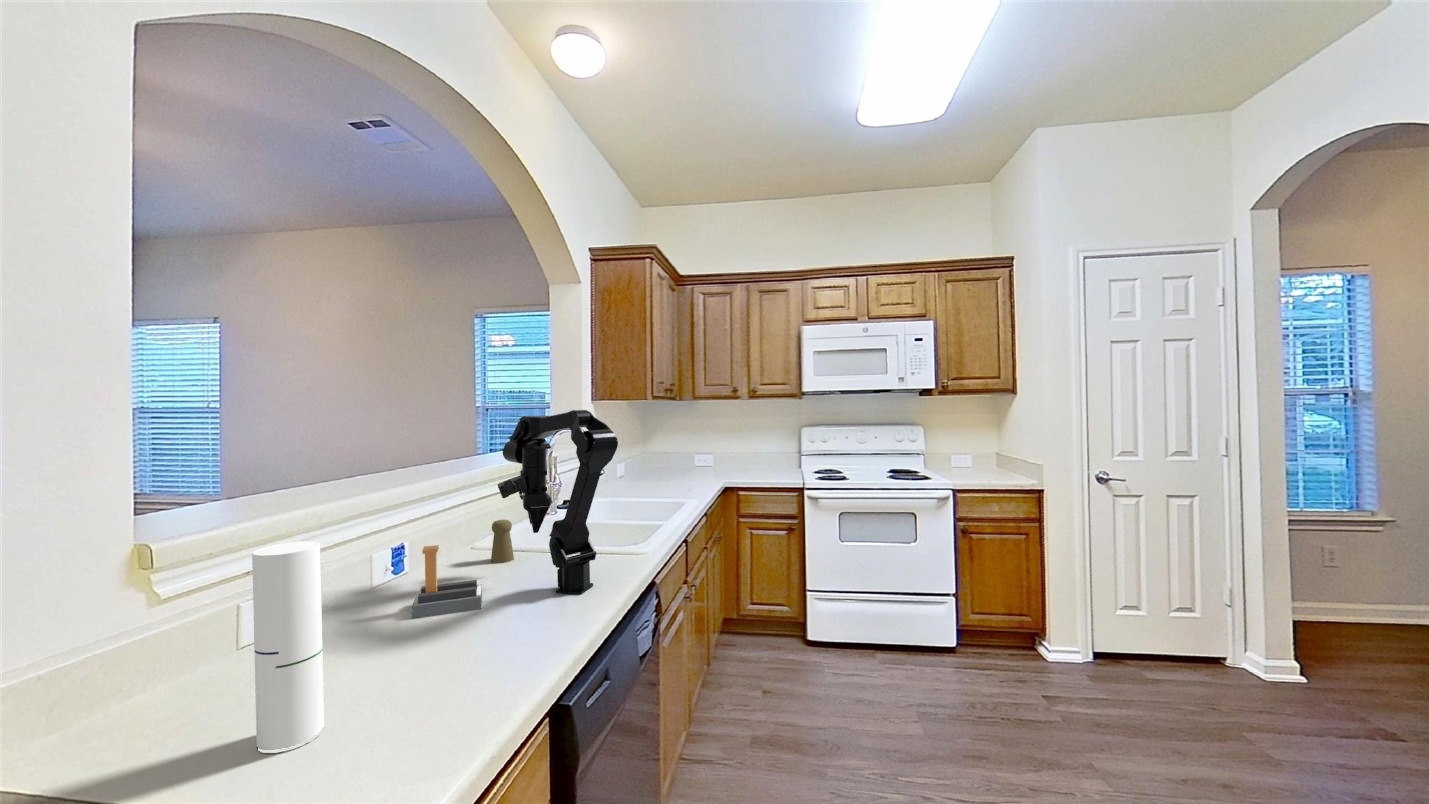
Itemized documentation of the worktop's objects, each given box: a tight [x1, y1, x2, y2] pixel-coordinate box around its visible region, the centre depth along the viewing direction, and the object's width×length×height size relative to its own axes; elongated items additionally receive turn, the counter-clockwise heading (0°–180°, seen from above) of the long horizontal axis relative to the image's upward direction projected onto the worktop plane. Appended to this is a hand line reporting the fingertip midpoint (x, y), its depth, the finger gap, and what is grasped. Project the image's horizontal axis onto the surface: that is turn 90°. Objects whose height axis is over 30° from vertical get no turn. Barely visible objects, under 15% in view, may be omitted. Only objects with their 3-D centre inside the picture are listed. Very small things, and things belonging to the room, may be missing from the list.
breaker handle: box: [421, 544, 440, 593], centre depth 121 cm, size 3×3×10 cm
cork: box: [490, 519, 515, 564], centre depth 158 cm, size 6×6×11 cm
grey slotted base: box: [411, 579, 483, 619], centre depth 123 cm, size 13×9×4 cm
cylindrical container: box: [251, 540, 325, 750], centre depth 75 cm, size 7×7×25 cm
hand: (533, 528), depth 143 cm, fingers open, 9 cm apart
